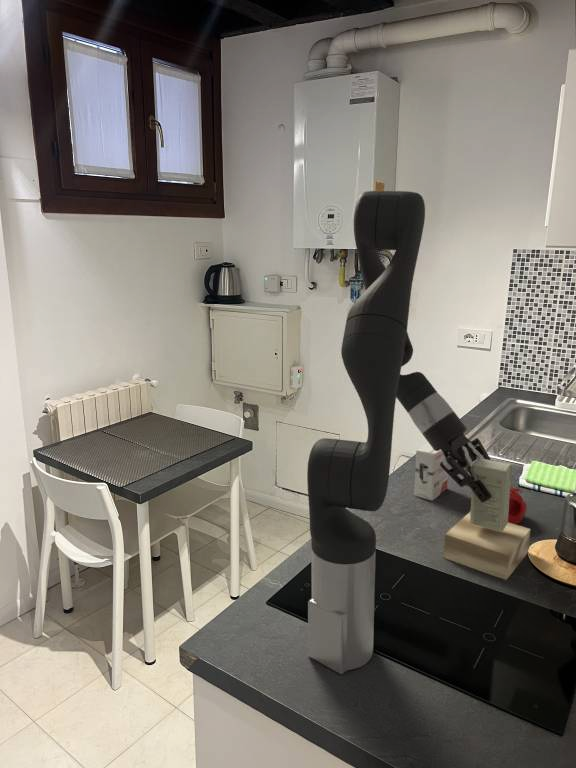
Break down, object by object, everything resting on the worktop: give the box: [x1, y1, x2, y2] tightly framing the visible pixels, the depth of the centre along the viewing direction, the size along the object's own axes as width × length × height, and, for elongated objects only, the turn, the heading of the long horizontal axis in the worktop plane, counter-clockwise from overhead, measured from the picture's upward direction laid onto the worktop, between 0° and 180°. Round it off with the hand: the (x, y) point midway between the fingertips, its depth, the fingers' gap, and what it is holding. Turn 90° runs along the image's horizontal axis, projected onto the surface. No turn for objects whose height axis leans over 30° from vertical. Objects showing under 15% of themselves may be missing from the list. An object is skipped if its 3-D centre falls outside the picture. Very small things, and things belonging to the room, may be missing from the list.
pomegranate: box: [508, 486, 528, 525], centre depth 125 cm, size 10×10×9 cm
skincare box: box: [470, 458, 513, 531], centre depth 109 cm, size 6×4×12 cm
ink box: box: [414, 442, 449, 501], centre depth 138 cm, size 9×5×12 cm, turn 141°
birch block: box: [443, 510, 531, 581], centre depth 112 cm, size 12×12×5 cm
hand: (492, 494), depth 109 cm, fingers closed on skincare box, 4 cm apart
